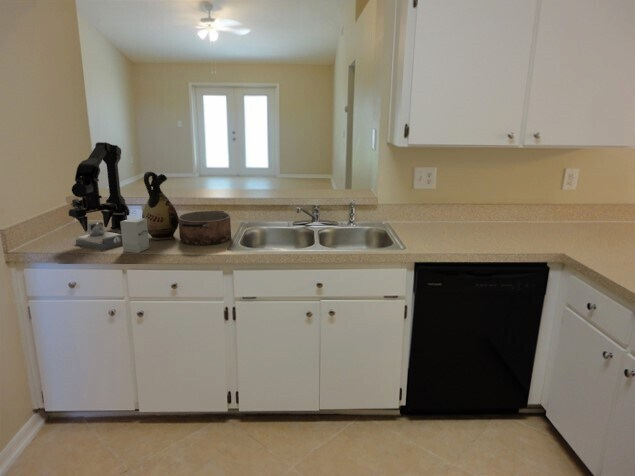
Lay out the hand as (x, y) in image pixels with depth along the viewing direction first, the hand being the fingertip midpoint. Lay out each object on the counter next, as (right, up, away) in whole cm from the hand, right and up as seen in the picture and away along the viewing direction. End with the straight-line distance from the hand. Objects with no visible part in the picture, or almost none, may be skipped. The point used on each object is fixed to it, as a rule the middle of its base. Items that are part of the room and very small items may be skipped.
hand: (96, 229), depth 181 cm
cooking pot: (+45, -4, +8) cm, 46 cm away
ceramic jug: (+25, -4, +9) cm, 26 cm away
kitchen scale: (+4, -6, -1) cm, 7 cm away
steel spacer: (0, -2, +1) cm, 2 cm away
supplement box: (+22, -9, -9) cm, 25 cm away
